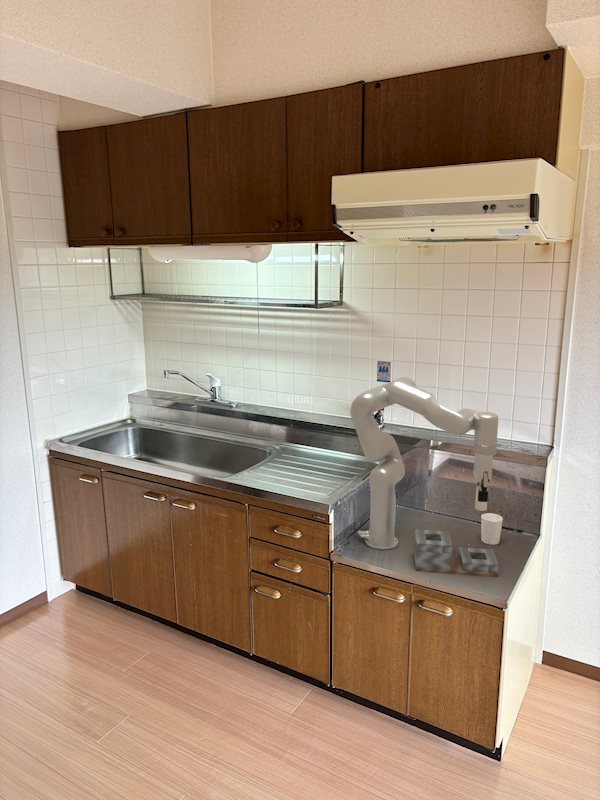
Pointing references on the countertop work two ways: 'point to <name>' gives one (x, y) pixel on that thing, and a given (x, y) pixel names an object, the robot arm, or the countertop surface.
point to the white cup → (491, 528)
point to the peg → (480, 505)
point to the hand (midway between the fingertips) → (481, 498)
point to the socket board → (451, 556)
